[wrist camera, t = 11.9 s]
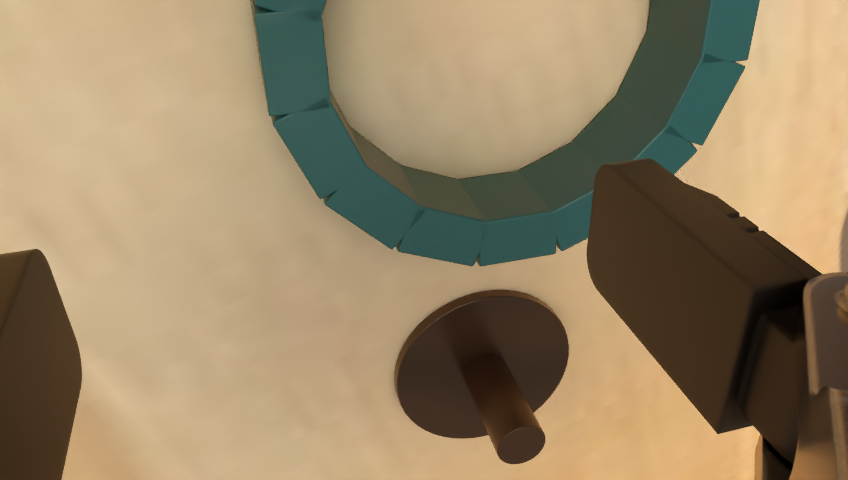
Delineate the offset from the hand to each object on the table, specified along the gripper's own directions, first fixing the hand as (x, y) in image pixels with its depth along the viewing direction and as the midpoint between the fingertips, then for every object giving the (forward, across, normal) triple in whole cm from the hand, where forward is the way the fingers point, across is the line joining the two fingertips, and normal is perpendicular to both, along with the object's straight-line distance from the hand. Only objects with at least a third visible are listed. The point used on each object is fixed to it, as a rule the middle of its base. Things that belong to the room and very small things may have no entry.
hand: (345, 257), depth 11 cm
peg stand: (+14, -7, +16) cm, 22 cm away
